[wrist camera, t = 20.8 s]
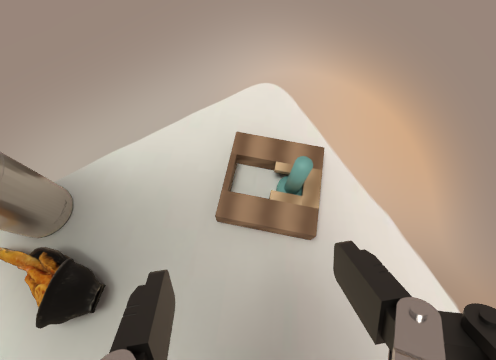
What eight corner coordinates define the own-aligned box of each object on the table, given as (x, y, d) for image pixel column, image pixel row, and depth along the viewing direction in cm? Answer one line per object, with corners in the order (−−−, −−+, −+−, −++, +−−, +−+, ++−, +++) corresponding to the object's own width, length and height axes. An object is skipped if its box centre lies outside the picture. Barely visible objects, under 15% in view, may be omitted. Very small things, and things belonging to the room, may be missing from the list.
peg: (274, 201, 46) (283, 176, 36) (278, 176, 48) (288, 145, 38) (302, 207, 46) (320, 183, 36) (305, 181, 48) (323, 152, 38)
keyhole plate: (217, 221, 44) (215, 216, 41) (236, 141, 51) (236, 131, 47) (310, 240, 44) (316, 236, 40) (318, 156, 50) (324, 147, 47)
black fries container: (78, 350, 33) (-102, 329, 28) (104, 303, 44) (-24, 283, 39) (100, 280, 33) (-76, 248, 28) (120, 251, 44) (-5, 224, 39)
